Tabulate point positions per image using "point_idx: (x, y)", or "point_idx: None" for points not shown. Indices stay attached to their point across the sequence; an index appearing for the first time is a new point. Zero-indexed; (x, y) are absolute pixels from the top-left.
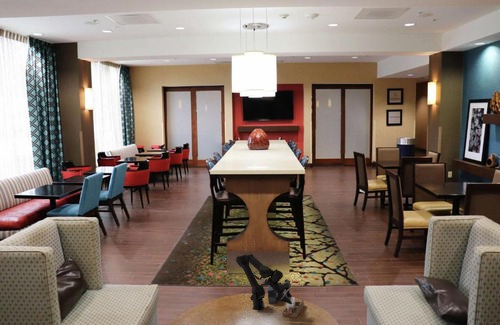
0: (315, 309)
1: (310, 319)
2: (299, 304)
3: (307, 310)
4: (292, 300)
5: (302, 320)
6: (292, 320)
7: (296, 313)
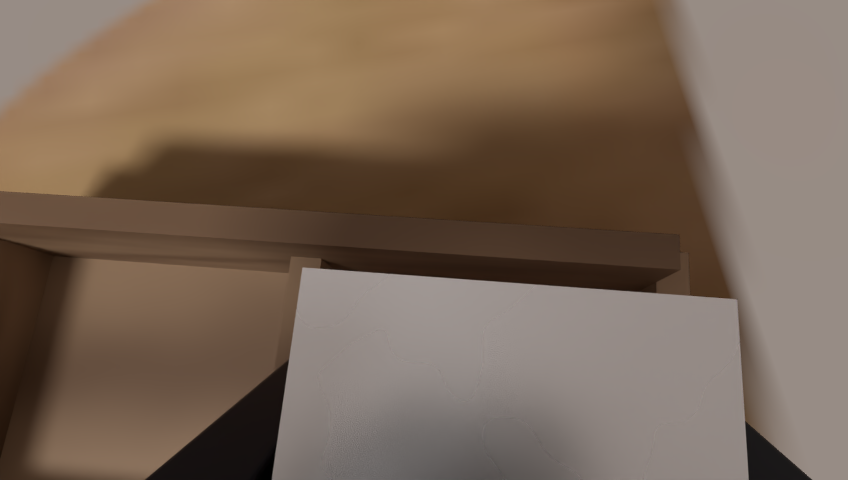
0: (205, 18)
1: (636, 29)
2: (236, 235)
3: (244, 143)
4: (714, 324)
5: (708, 156)
6: (753, 355)
7: (686, 253)
